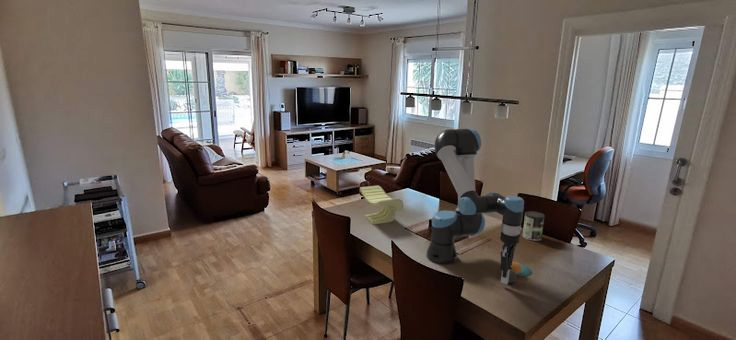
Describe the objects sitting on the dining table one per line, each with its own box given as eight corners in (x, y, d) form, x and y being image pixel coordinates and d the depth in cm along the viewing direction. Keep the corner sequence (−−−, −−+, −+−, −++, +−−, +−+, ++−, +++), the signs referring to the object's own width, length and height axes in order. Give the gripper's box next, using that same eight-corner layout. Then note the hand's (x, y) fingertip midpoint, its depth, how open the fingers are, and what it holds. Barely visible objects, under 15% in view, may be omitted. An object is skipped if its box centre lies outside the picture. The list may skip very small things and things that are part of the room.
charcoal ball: (514, 266, 165) (513, 275, 167) (501, 268, 165) (501, 277, 167) (519, 275, 160) (518, 284, 162) (506, 276, 160) (505, 286, 162)
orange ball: (513, 264, 168) (517, 258, 171) (504, 268, 171) (508, 262, 175) (522, 274, 167) (525, 267, 171) (513, 278, 171) (516, 271, 174)
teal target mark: (512, 276, 169) (512, 276, 169) (500, 263, 180) (500, 263, 180) (536, 275, 170) (536, 275, 170) (523, 262, 182) (523, 262, 182)
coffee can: (542, 236, 214) (546, 213, 210) (540, 242, 205) (543, 218, 202) (523, 232, 219) (526, 209, 215) (520, 238, 210) (523, 214, 207)
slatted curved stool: (402, 226, 224) (403, 198, 220) (378, 229, 218) (379, 201, 214) (381, 209, 251) (381, 184, 247) (359, 212, 245) (360, 187, 240)
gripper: (514, 240, 147) (508, 292, 153) (524, 230, 157) (517, 279, 163) (496, 235, 151) (490, 285, 157) (506, 225, 161) (500, 273, 167)
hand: (504, 282), depth 160 cm, fingers closed
